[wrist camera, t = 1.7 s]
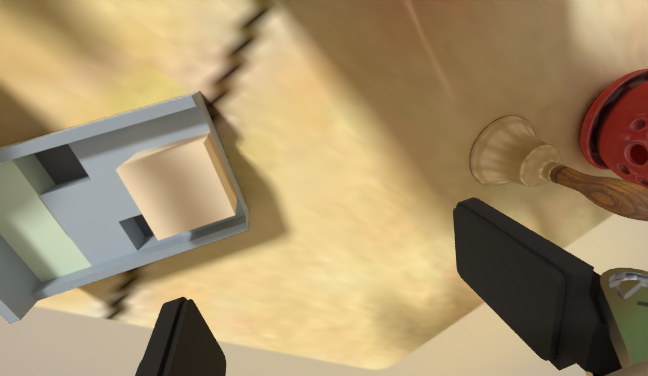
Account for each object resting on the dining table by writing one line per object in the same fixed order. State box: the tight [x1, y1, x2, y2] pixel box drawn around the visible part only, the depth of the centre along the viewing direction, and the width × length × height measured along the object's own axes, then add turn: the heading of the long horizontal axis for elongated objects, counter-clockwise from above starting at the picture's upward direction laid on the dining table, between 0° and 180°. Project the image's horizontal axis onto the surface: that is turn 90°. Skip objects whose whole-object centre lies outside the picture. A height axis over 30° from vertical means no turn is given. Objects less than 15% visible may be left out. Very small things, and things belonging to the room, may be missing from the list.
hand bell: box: [470, 116, 648, 221], centre depth 27 cm, size 8×8×16 cm
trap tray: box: [0, 91, 249, 324], centre depth 24 cm, size 19×12×6 cm, turn 105°
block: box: [115, 131, 237, 241], centre depth 23 cm, size 6×6×4 cm
